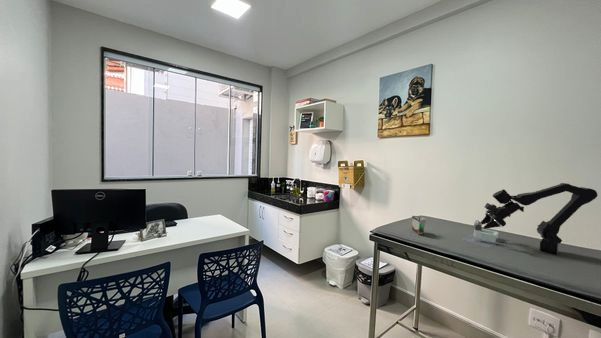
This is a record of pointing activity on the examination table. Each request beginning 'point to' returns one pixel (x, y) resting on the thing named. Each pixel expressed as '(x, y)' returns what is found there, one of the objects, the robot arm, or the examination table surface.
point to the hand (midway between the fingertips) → (482, 226)
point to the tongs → (477, 231)
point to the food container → (418, 225)
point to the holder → (489, 235)
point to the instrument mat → (482, 242)
